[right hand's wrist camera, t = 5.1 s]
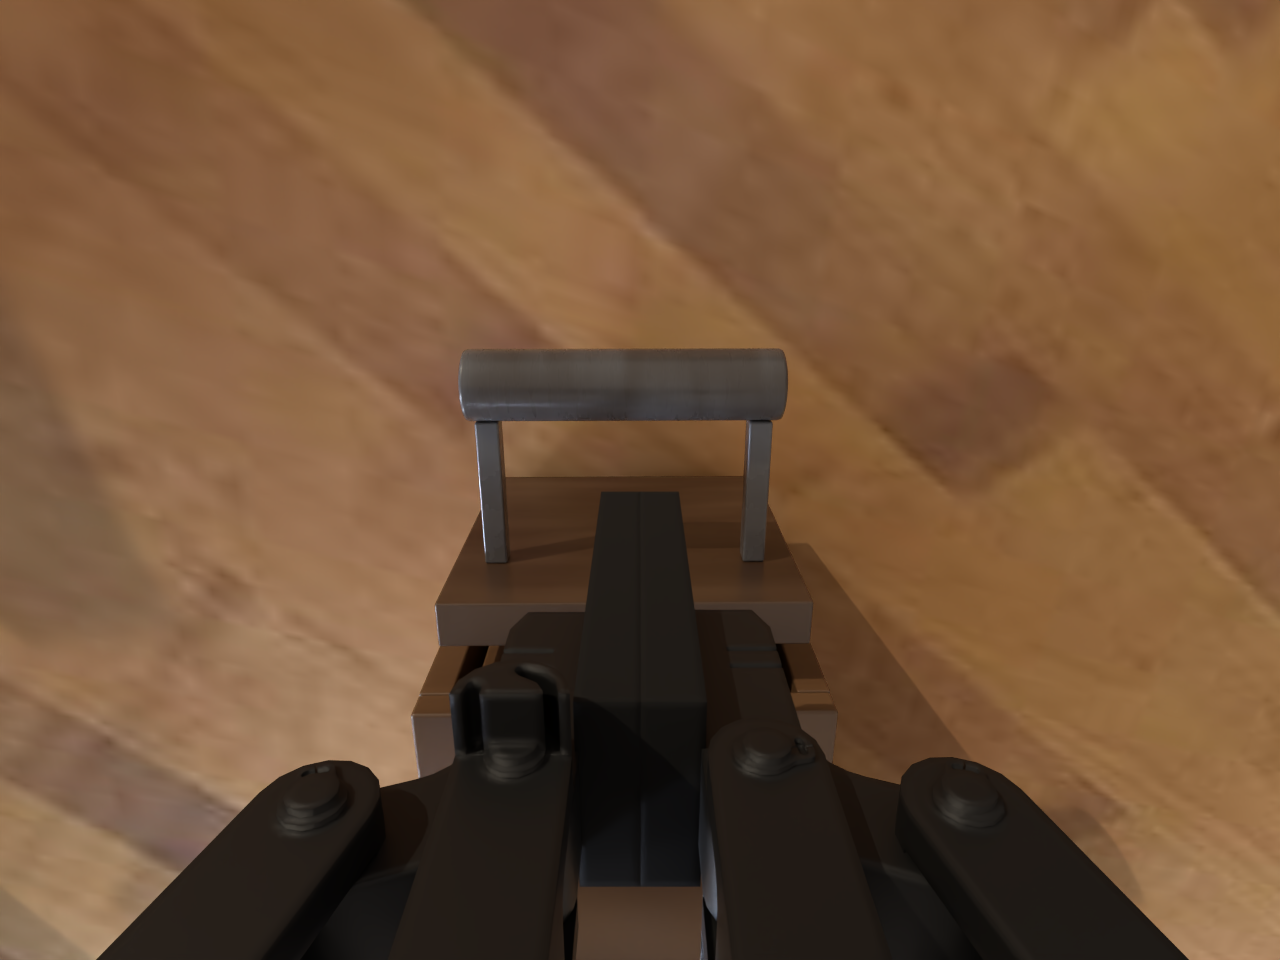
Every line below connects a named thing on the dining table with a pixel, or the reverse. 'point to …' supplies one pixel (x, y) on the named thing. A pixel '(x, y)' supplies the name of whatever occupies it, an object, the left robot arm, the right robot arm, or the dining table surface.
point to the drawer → (618, 487)
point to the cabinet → (621, 916)
